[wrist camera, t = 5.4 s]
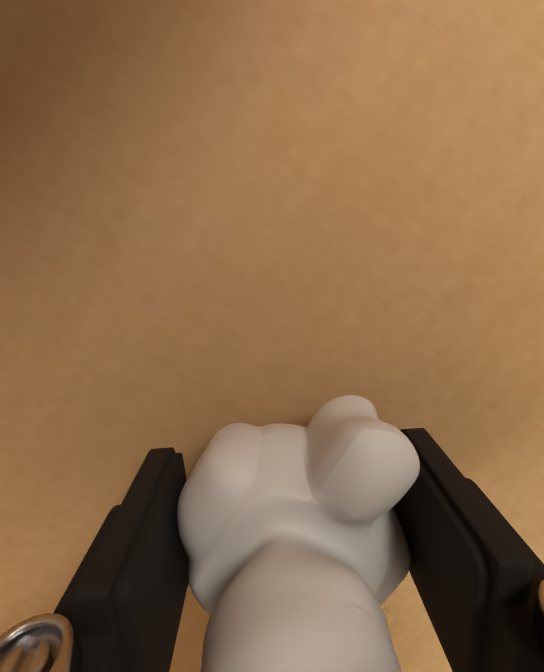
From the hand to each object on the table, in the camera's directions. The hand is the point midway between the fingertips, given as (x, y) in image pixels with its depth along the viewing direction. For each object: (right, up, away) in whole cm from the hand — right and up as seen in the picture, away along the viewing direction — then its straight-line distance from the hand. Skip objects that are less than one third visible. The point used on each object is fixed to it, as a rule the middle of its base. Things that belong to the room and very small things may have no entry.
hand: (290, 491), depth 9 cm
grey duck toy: (0, 0, +2) cm, 2 cm away
